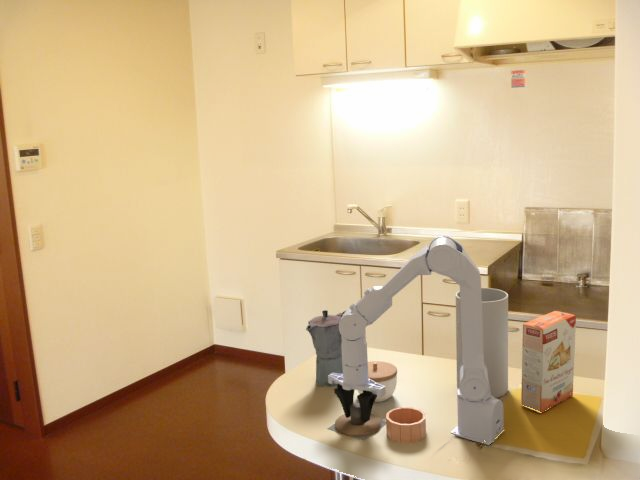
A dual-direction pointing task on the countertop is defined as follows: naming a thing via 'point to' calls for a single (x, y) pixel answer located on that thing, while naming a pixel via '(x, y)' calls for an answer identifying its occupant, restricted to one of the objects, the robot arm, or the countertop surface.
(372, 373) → the lidded jar
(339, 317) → the moka pot
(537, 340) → the cracker box
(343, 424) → the lid
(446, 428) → the countertop surface
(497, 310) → the cylinder vase
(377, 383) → the robot arm
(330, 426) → the mat
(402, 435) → the planter
